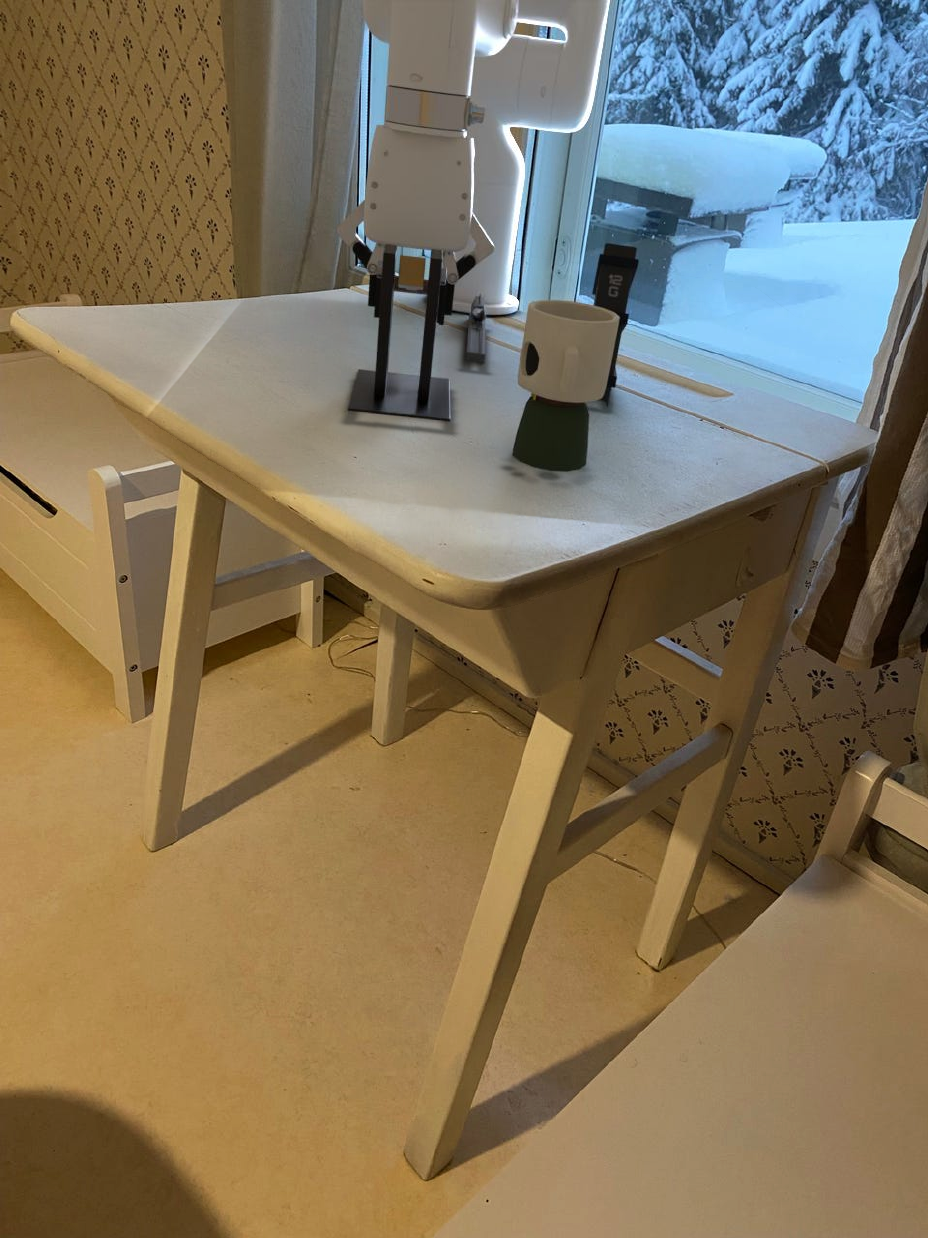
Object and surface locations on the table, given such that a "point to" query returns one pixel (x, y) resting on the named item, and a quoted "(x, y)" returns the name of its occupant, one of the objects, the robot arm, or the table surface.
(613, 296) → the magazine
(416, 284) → the switch lever
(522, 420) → the character mug
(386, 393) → the stand
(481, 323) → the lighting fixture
